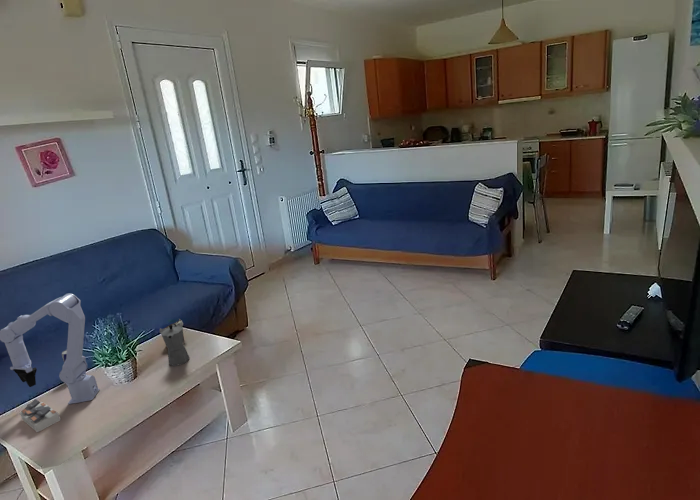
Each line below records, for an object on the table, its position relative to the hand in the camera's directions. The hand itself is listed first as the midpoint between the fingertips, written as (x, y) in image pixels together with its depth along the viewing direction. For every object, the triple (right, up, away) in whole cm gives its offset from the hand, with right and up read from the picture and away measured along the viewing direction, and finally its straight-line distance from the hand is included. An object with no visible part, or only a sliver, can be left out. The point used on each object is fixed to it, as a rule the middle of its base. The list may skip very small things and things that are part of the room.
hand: (29, 383), depth 183 cm
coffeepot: (+52, +4, +24) cm, 57 cm away
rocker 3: (+14, -7, -14) cm, 22 cm away
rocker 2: (+10, -7, -11) cm, 17 cm away
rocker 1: (+6, -7, -8) cm, 12 cm away
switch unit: (+11, -11, -9) cm, 19 cm away
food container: (+44, +8, +42) cm, 62 cm away
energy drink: (+5, -3, +22) cm, 23 cm away
